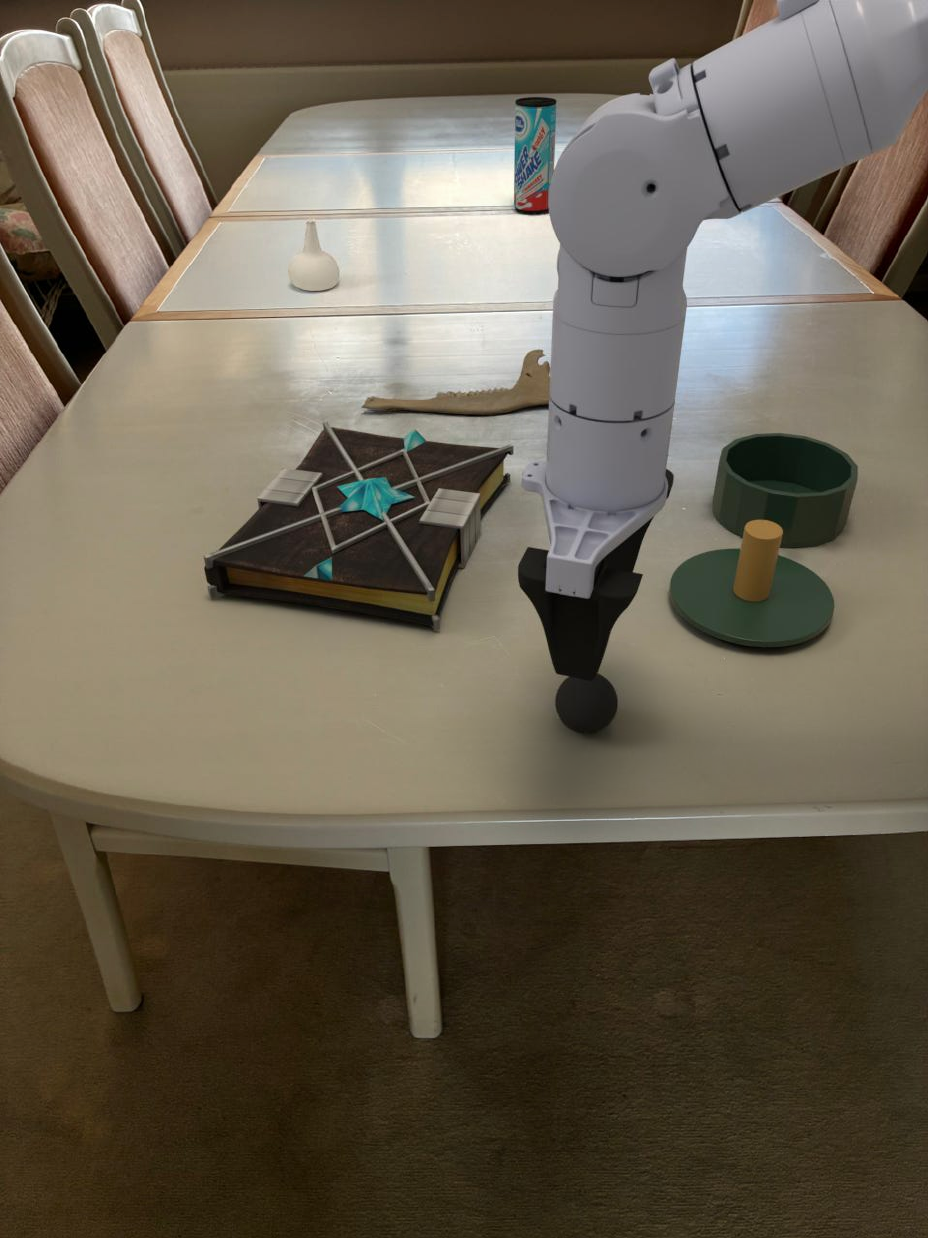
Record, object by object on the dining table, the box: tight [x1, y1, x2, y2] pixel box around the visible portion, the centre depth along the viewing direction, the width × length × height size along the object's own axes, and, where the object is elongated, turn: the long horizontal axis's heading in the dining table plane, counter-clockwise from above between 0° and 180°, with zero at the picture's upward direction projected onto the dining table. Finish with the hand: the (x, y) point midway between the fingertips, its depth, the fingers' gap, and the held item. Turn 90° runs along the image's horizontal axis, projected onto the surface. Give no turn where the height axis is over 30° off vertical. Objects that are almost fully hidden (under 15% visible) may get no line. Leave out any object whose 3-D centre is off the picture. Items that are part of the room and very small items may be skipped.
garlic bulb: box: [287, 218, 340, 292], centre depth 118 cm, size 6×6×8 cm
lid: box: [669, 520, 835, 648], centre depth 64 cm, size 11×11×6 cm
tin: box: [711, 432, 859, 549], centre depth 74 cm, size 10×10×4 cm
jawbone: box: [361, 349, 551, 416], centre depth 91 cm, size 9×20×2 cm, turn 119°
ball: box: [554, 672, 619, 735], centre depth 55 cm, size 4×4×4 cm
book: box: [202, 421, 514, 632], centre depth 72 cm, size 22×17×5 cm
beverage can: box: [513, 96, 558, 216], centre depth 142 cm, size 6×6×15 cm
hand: (591, 629), depth 52 cm, fingers open, 7 cm apart
